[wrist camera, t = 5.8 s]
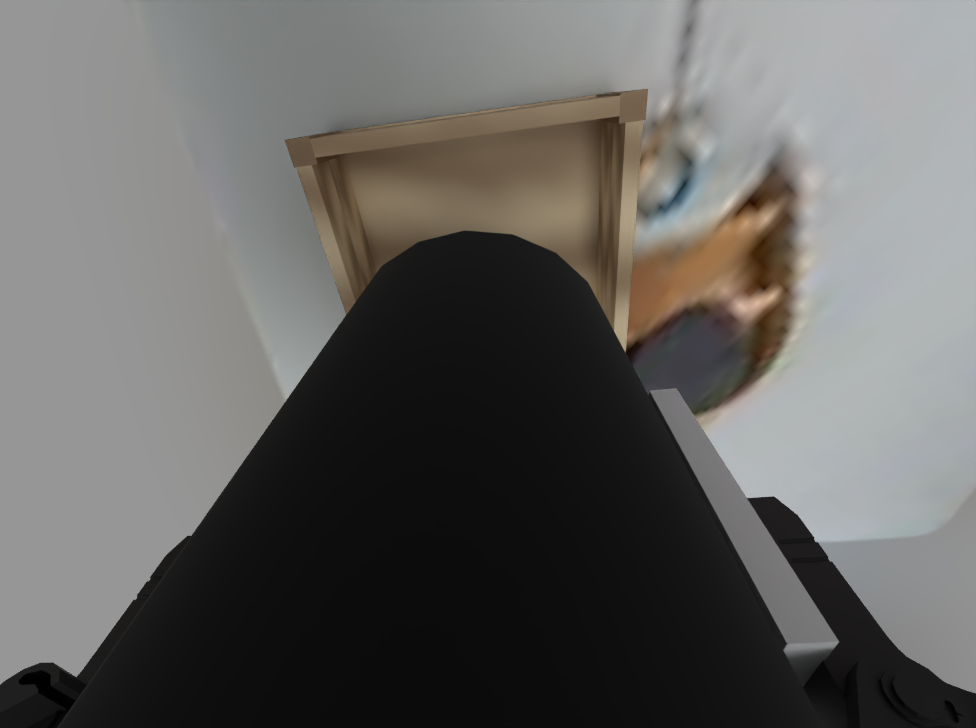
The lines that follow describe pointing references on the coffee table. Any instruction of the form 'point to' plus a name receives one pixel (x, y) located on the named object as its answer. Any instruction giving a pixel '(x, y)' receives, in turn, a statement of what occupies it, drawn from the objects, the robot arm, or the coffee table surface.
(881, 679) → the robot arm
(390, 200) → the pine crate
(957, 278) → the coffee table surface
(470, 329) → the coffee jar
